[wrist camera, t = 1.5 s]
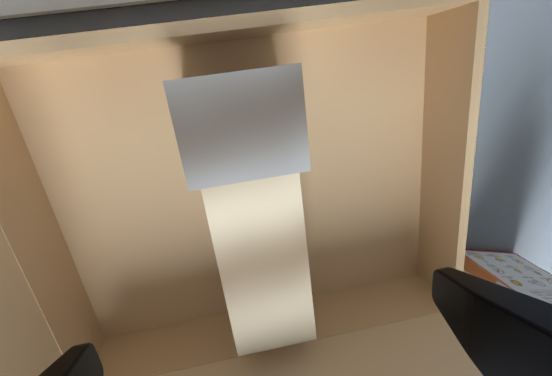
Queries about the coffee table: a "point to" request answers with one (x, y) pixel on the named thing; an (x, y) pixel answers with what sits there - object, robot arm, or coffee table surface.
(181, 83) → the grey and cream hammer
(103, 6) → the grey mat
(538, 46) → the coffee table surface
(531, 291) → the cracker box
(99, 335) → the carton
